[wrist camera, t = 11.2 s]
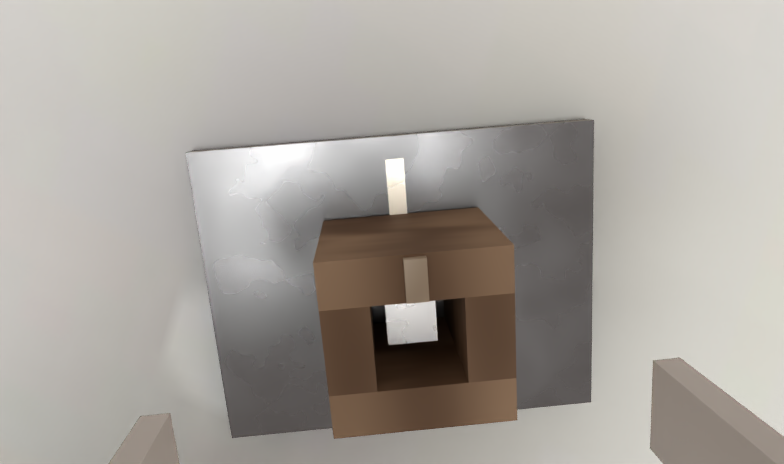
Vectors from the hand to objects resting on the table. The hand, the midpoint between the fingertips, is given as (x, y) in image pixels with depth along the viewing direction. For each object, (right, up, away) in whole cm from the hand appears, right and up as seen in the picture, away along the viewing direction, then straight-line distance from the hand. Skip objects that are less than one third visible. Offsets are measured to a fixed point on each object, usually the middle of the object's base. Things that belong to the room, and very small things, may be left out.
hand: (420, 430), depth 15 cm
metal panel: (0, +3, +12) cm, 12 cm away
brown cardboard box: (0, +3, +11) cm, 11 cm away
